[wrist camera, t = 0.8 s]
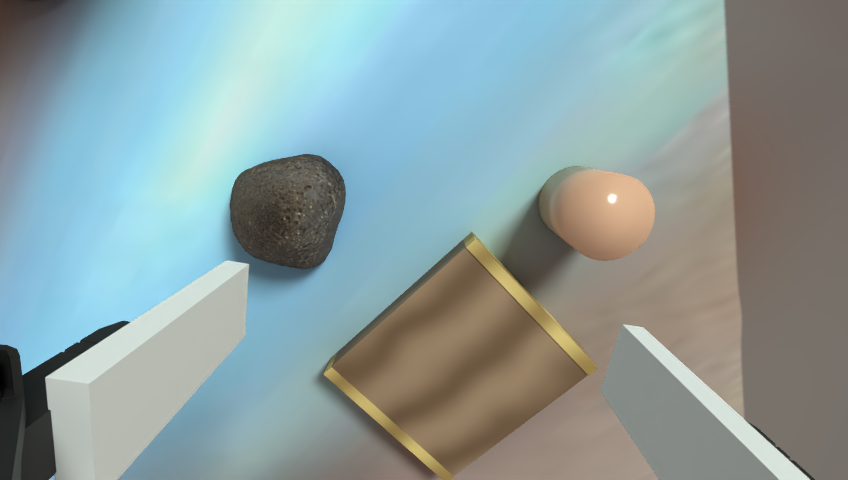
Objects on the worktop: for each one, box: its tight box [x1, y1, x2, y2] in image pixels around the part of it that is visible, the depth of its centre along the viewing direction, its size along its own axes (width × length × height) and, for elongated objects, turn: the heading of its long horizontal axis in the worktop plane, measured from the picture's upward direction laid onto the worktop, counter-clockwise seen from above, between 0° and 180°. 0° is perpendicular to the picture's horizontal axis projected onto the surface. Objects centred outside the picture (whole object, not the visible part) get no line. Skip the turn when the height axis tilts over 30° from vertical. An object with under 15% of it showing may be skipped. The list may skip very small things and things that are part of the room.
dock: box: [324, 232, 598, 480], centre depth 36 cm, size 16×18×3 cm
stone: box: [230, 154, 346, 269], centre depth 32 cm, size 10×8×10 cm
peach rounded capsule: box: [538, 166, 655, 261], centre depth 30 cm, size 6×6×7 cm
